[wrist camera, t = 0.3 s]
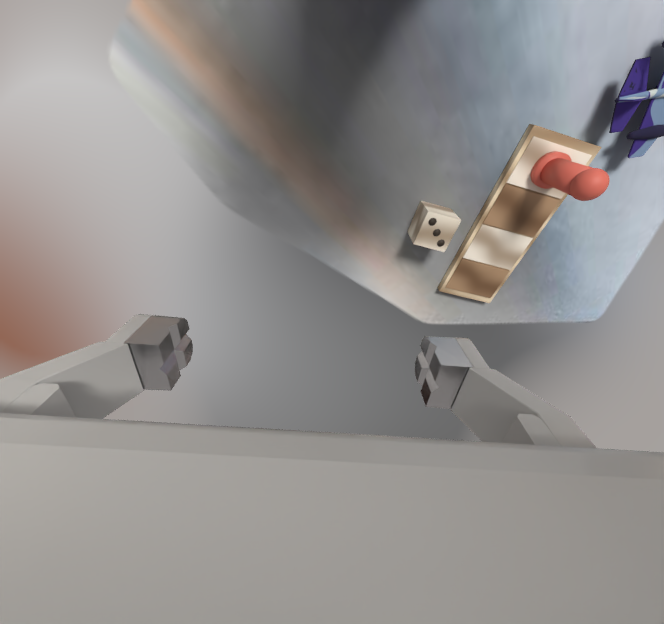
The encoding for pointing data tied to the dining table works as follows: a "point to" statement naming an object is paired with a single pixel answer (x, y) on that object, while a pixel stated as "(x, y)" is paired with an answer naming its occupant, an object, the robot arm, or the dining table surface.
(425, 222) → the die
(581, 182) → the pawn
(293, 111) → the dining table surface
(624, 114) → the toy airplane
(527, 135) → the track board
